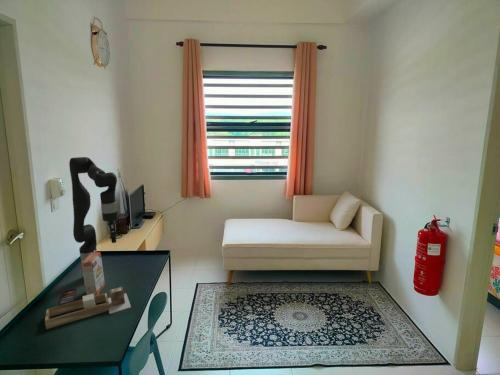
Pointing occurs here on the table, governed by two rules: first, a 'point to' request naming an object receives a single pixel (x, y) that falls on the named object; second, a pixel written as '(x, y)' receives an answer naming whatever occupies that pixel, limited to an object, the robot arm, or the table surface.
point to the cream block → (88, 301)
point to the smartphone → (68, 297)
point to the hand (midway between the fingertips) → (113, 240)
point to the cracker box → (93, 274)
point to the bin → (75, 315)
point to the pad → (119, 307)
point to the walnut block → (117, 296)
